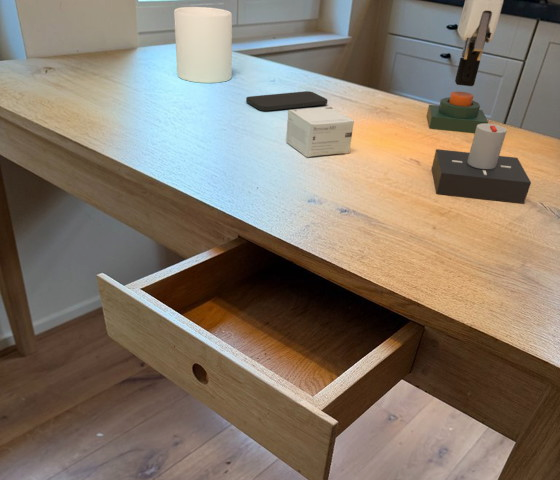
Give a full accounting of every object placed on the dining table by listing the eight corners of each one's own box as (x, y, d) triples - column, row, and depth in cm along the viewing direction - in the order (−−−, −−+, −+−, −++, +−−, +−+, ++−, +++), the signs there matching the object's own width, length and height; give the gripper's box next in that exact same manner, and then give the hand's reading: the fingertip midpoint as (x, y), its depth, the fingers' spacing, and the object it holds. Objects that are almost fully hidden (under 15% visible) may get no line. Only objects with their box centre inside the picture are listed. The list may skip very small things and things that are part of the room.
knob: (465, 158, 82) (475, 119, 78) (493, 161, 81) (504, 122, 78) (469, 168, 79) (480, 128, 75) (498, 170, 78) (510, 131, 75)
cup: (208, 67, 129) (206, 5, 121) (242, 78, 123) (243, 14, 115) (166, 74, 122) (162, 8, 114) (201, 85, 116) (199, 17, 108)
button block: (479, 122, 108) (485, 99, 105) (484, 134, 101) (491, 111, 99) (426, 116, 108) (431, 94, 106) (429, 129, 102) (434, 105, 100)
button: (469, 103, 104) (472, 92, 103) (472, 108, 101) (474, 98, 100) (447, 100, 104) (450, 90, 103) (449, 106, 101) (452, 96, 100)
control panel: (511, 177, 85) (517, 156, 83) (523, 203, 78) (531, 181, 76) (431, 169, 86) (436, 147, 84) (436, 194, 79) (441, 171, 76)
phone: (243, 96, 108) (310, 90, 114) (243, 101, 109) (309, 95, 115) (261, 107, 103) (330, 100, 109) (261, 112, 104) (329, 105, 110)
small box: (307, 158, 86) (310, 123, 83) (284, 142, 92) (287, 108, 88) (350, 154, 89) (355, 119, 86) (326, 138, 94) (330, 105, 91)
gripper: (466, -48, 95) (439, 73, 106) (478, -42, 83) (446, 92, 95) (511, -44, 94) (479, 77, 106) (529, -38, 83) (491, 97, 95)
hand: (464, 84), depth 100 cm, fingers closed
